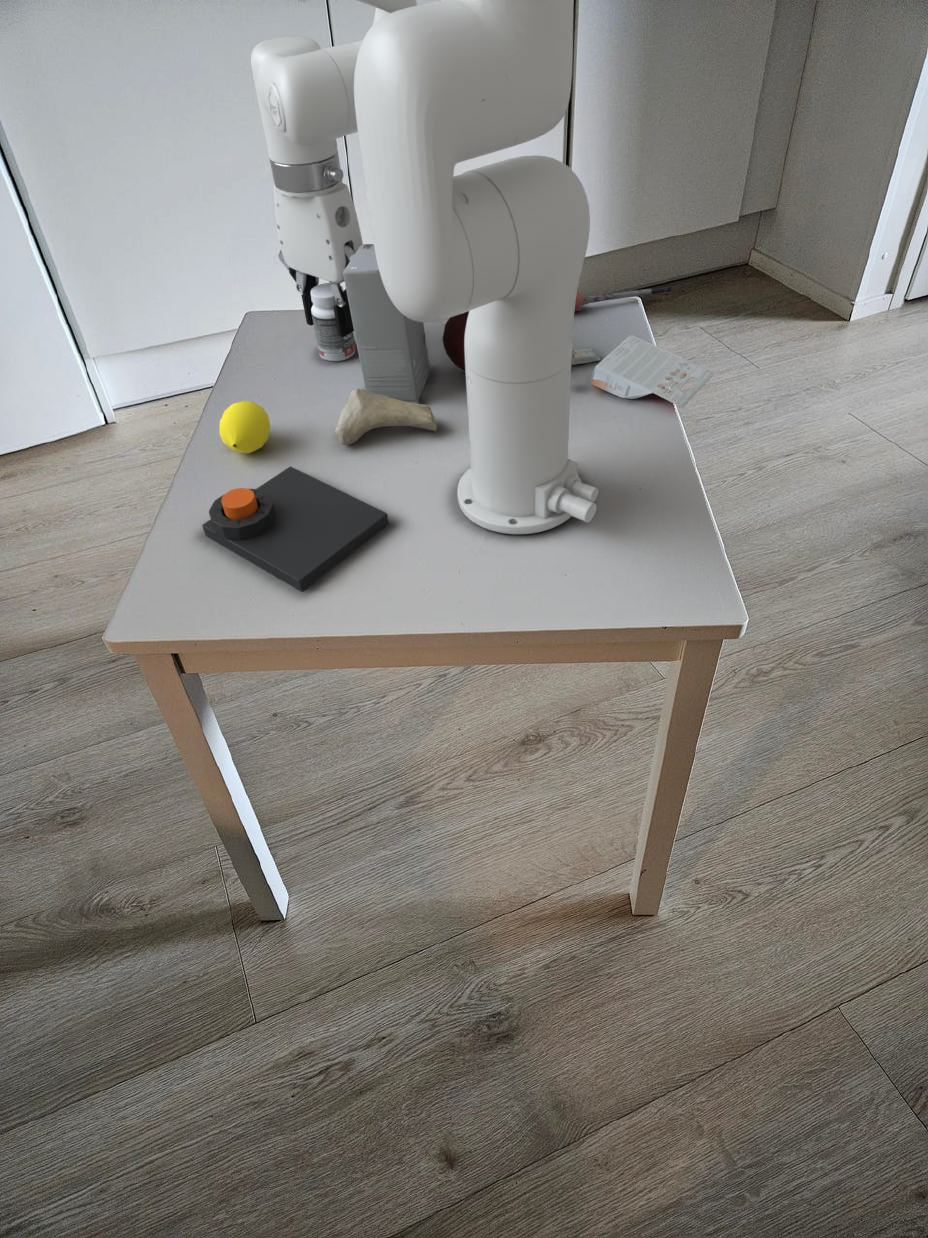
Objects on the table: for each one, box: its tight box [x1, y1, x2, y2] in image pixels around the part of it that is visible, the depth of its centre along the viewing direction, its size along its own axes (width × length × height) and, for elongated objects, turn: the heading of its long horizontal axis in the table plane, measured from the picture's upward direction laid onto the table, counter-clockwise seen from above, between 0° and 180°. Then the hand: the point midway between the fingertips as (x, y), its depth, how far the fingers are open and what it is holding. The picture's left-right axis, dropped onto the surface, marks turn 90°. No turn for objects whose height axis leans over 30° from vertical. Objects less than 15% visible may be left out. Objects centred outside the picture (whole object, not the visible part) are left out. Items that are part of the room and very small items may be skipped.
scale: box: [201, 466, 390, 592], centre depth 86 cm, size 14×12×3 cm
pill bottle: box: [311, 282, 357, 362], centre depth 109 cm, size 5×5×8 cm
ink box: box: [590, 334, 715, 409], centre depth 102 cm, size 3×9×12 cm
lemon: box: [218, 400, 271, 454], centre depth 95 cm, size 7×5×5 cm
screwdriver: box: [574, 286, 673, 312], centre depth 116 cm, size 25×3×3 cm
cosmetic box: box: [343, 243, 430, 404], centre depth 100 cm, size 8×7×16 cm
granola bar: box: [571, 348, 602, 366], centre depth 106 cm, size 7×1×3 cm
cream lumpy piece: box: [334, 388, 438, 446], centre depth 97 cm, size 11×6×5 cm, turn 101°
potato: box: [442, 311, 469, 373], centre depth 102 cm, size 9×12×9 cm
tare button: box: [221, 487, 258, 520], centre depth 85 cm, size 3×3×2 cm
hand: (332, 325), depth 109 cm, fingers closed on pill bottle, 4 cm apart
